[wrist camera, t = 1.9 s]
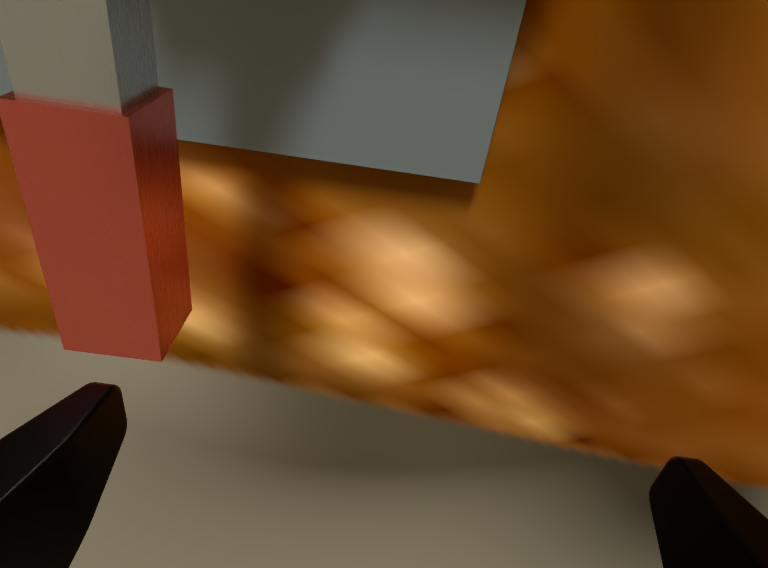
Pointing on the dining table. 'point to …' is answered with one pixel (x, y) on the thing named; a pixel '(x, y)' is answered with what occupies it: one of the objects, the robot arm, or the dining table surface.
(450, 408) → the dining table surface
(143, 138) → the valve lever
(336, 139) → the valve board
